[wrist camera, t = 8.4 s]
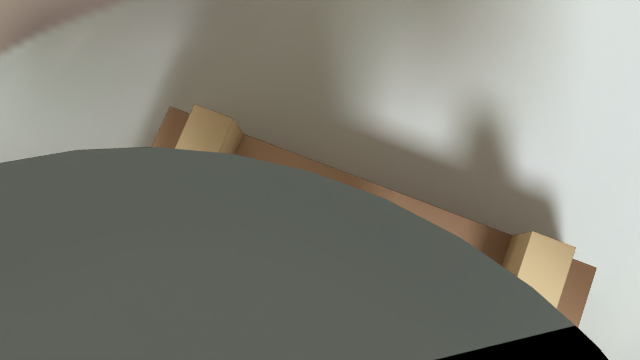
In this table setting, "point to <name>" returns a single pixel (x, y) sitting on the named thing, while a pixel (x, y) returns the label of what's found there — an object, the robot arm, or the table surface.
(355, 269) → the spectacles tube
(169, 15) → the table surface
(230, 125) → the display plinth
